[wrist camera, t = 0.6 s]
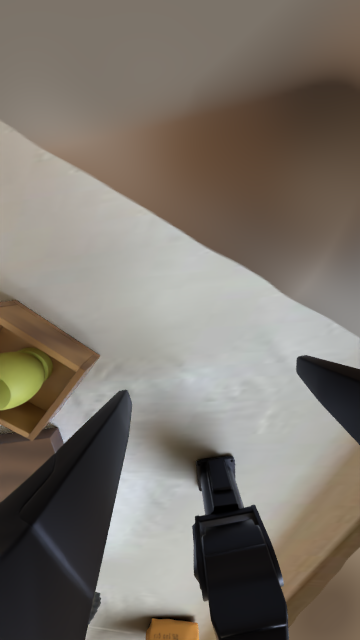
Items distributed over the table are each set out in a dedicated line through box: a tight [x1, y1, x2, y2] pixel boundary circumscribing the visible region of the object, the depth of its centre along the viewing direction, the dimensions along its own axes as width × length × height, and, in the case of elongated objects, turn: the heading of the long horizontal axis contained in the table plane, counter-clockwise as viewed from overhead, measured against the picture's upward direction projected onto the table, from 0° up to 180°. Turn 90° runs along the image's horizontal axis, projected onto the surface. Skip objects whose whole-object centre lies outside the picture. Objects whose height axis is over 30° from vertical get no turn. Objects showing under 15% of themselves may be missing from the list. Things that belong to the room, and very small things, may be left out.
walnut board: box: [0, 428, 63, 502], centre depth 26 cm, size 14×20×2 cm
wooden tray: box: [0, 300, 100, 441], centre depth 21 cm, size 13×13×4 cm
